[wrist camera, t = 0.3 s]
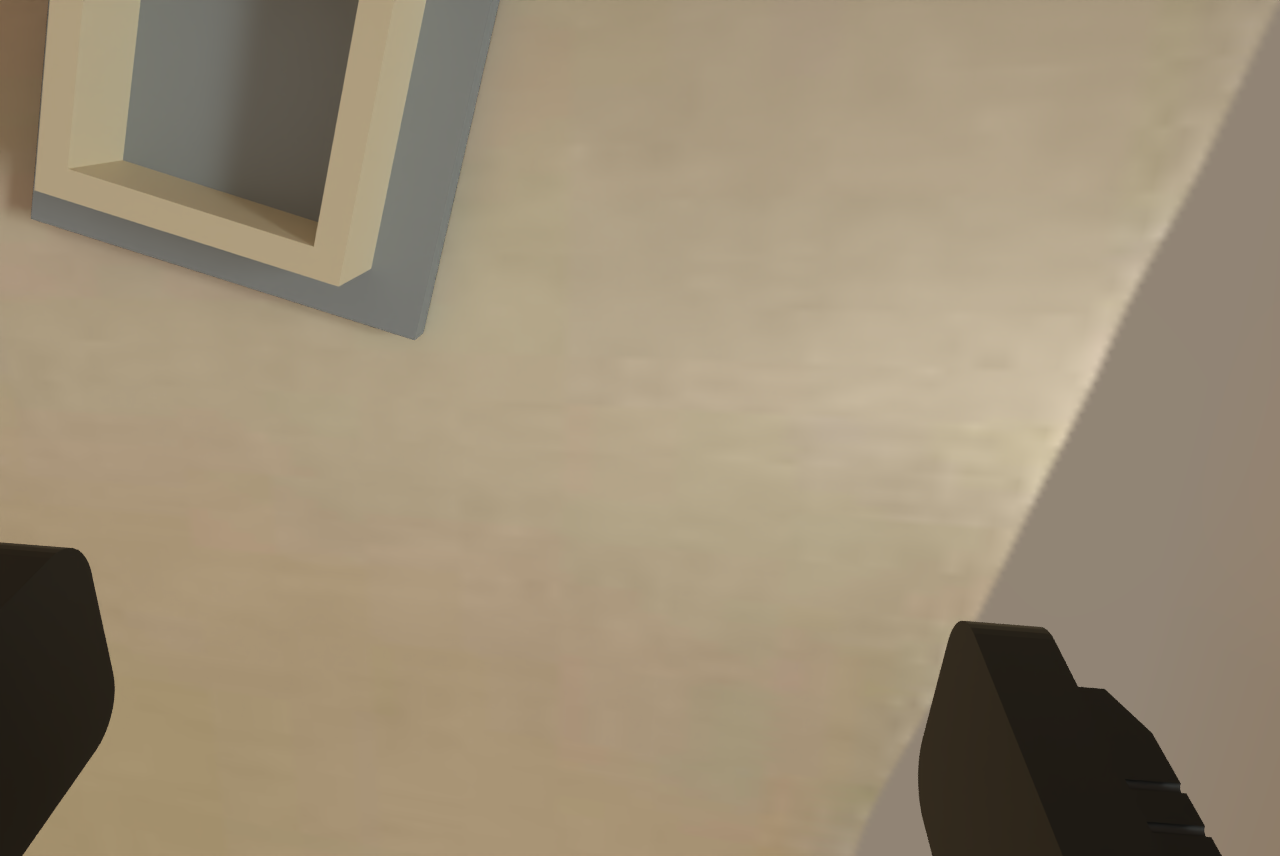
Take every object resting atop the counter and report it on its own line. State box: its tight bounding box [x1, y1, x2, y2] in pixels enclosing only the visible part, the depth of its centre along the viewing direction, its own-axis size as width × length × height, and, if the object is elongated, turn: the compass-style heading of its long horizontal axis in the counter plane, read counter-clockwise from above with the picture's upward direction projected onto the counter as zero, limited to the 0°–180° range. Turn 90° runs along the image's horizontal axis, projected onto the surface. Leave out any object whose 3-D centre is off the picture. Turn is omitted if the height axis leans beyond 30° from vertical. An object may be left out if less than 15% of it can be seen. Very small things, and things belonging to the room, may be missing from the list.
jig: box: [31, 0, 499, 340], centre depth 32 cm, size 14×14×4 cm
